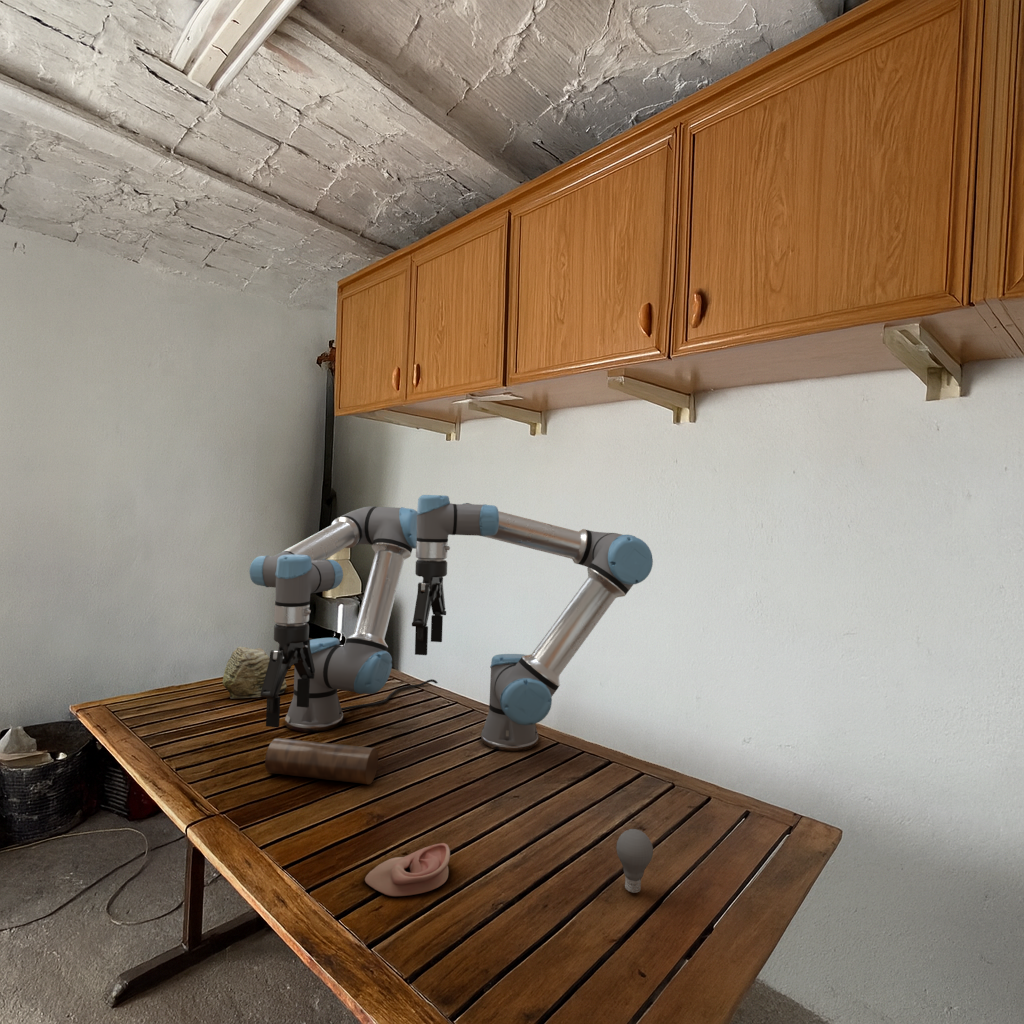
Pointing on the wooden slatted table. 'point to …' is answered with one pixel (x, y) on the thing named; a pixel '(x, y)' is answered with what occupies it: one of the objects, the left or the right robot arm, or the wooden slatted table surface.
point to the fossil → (247, 673)
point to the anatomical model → (412, 872)
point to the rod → (322, 760)
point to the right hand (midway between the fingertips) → (429, 648)
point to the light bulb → (634, 857)
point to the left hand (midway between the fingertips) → (288, 716)
